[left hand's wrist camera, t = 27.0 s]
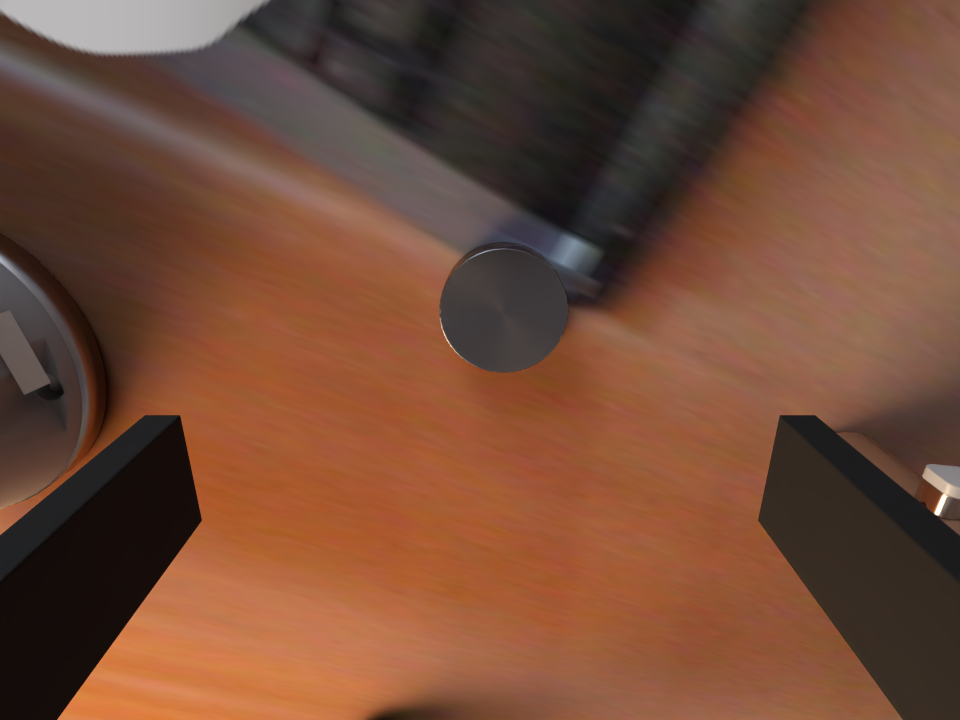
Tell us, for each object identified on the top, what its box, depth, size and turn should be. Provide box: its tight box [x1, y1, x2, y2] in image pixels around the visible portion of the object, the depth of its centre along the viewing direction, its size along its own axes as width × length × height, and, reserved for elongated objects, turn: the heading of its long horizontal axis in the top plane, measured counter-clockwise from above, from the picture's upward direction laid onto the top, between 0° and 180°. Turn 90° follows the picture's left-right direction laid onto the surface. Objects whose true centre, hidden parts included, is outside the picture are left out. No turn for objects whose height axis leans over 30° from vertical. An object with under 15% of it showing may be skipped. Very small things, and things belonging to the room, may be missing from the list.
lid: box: [439, 242, 568, 373], centre depth 27 cm, size 6×6×2 cm
